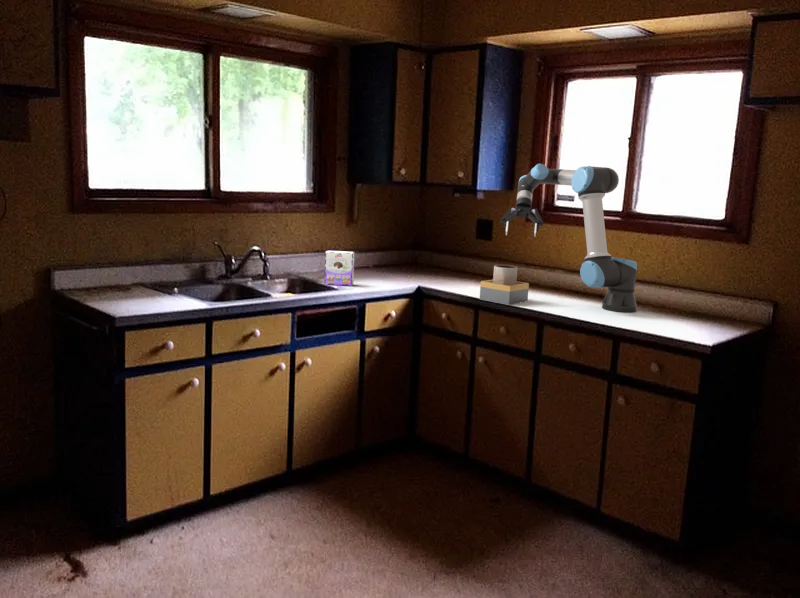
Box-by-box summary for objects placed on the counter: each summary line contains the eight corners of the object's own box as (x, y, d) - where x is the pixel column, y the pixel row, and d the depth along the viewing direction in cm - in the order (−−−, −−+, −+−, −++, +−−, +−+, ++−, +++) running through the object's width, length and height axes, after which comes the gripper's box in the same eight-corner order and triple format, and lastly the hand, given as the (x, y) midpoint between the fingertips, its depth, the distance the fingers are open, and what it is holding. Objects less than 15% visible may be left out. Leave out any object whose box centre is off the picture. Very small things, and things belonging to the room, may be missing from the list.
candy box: (353, 284, 368) (355, 251, 366) (351, 286, 363) (353, 252, 360) (326, 282, 370) (327, 249, 367) (323, 284, 364) (325, 251, 361)
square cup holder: (527, 301, 347) (529, 283, 345) (508, 304, 335) (510, 286, 333) (498, 296, 357) (500, 278, 355) (479, 299, 345) (480, 281, 344)
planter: (498, 284, 352) (499, 264, 350) (519, 287, 347) (521, 266, 345) (488, 286, 343) (490, 266, 341) (510, 289, 338) (512, 268, 336)
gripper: (549, 208, 370) (546, 241, 358) (498, 205, 374) (494, 237, 362) (550, 197, 364) (547, 230, 352) (498, 194, 368) (494, 227, 356)
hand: (520, 234), depth 357 cm, fingers open, 13 cm apart
